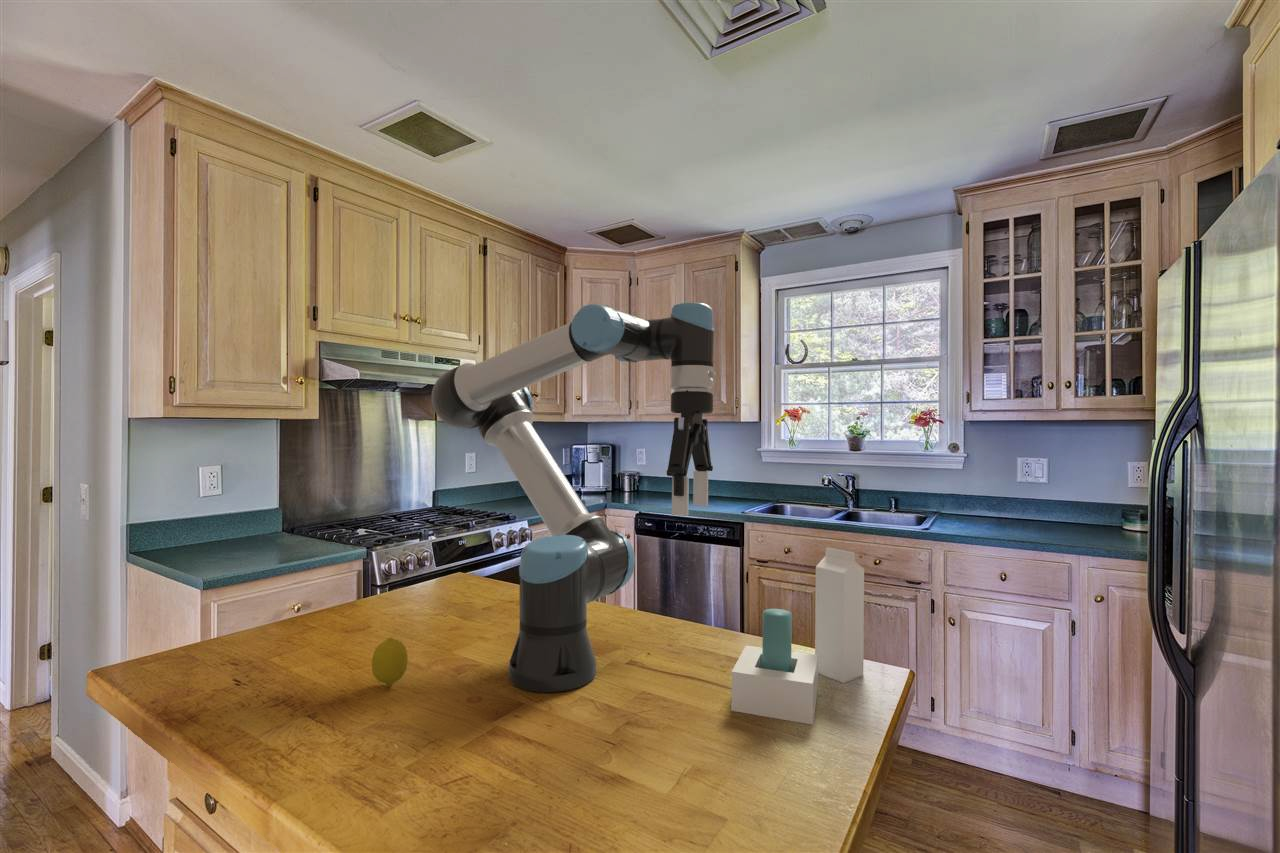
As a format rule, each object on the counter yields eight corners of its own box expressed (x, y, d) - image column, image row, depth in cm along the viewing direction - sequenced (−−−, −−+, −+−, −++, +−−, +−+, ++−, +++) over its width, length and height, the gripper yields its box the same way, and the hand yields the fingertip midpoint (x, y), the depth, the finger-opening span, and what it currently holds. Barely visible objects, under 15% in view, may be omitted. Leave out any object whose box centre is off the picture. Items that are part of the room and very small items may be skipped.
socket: (731, 710, 92) (731, 671, 92) (745, 680, 104) (745, 645, 104) (812, 724, 88) (812, 683, 88) (818, 691, 100) (818, 655, 100)
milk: (843, 684, 103) (844, 555, 103) (814, 672, 108) (814, 549, 108) (864, 675, 106) (865, 550, 106) (834, 664, 111) (835, 545, 111)
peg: (760, 704, 95) (760, 615, 95) (764, 692, 99) (765, 607, 99) (789, 709, 93) (790, 618, 93) (792, 697, 97) (793, 610, 97)
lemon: (414, 682, 102) (415, 635, 102) (388, 695, 97) (388, 645, 97) (390, 676, 104) (391, 630, 104) (363, 689, 99) (364, 640, 99)
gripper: (694, 386, 94) (692, 521, 94) (727, 395, 118) (726, 503, 118) (648, 386, 97) (647, 518, 97) (690, 395, 120) (689, 501, 120)
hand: (690, 510), depth 107 cm, fingers open, 13 cm apart
